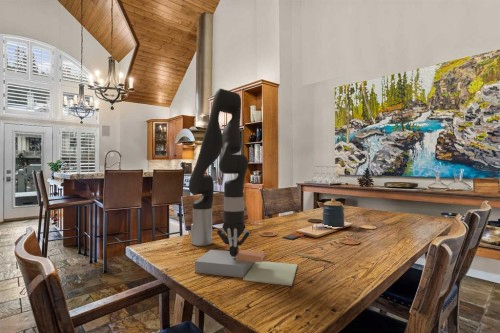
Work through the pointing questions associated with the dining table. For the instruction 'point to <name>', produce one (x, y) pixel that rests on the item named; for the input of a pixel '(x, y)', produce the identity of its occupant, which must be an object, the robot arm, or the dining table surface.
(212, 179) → the robot arm
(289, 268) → the mat
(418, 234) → the dining table surface
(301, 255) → the sword
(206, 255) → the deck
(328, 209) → the lidded jar
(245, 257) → the block
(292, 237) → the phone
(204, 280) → the dining table surface
